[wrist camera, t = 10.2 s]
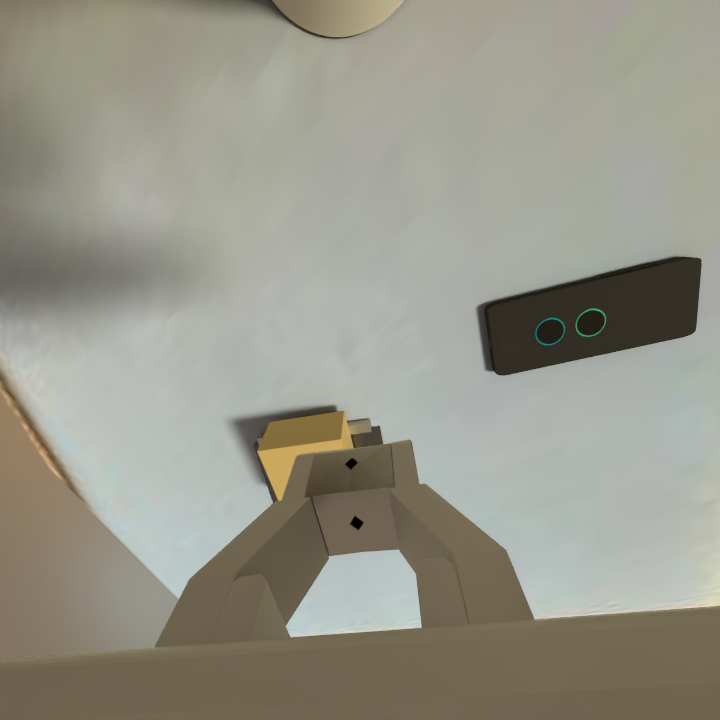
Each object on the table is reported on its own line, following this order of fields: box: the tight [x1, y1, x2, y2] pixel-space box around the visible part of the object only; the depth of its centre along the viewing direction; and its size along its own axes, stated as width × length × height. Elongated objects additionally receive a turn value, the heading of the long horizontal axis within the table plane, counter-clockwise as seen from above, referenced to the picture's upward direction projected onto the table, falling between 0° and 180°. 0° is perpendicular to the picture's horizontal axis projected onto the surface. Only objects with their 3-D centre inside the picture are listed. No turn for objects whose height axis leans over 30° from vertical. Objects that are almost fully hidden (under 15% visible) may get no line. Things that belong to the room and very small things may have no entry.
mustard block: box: [257, 411, 354, 501], centre depth 39 cm, size 5×9×10 cm
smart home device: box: [485, 257, 701, 375], centre depth 35 cm, size 8×2×20 cm
